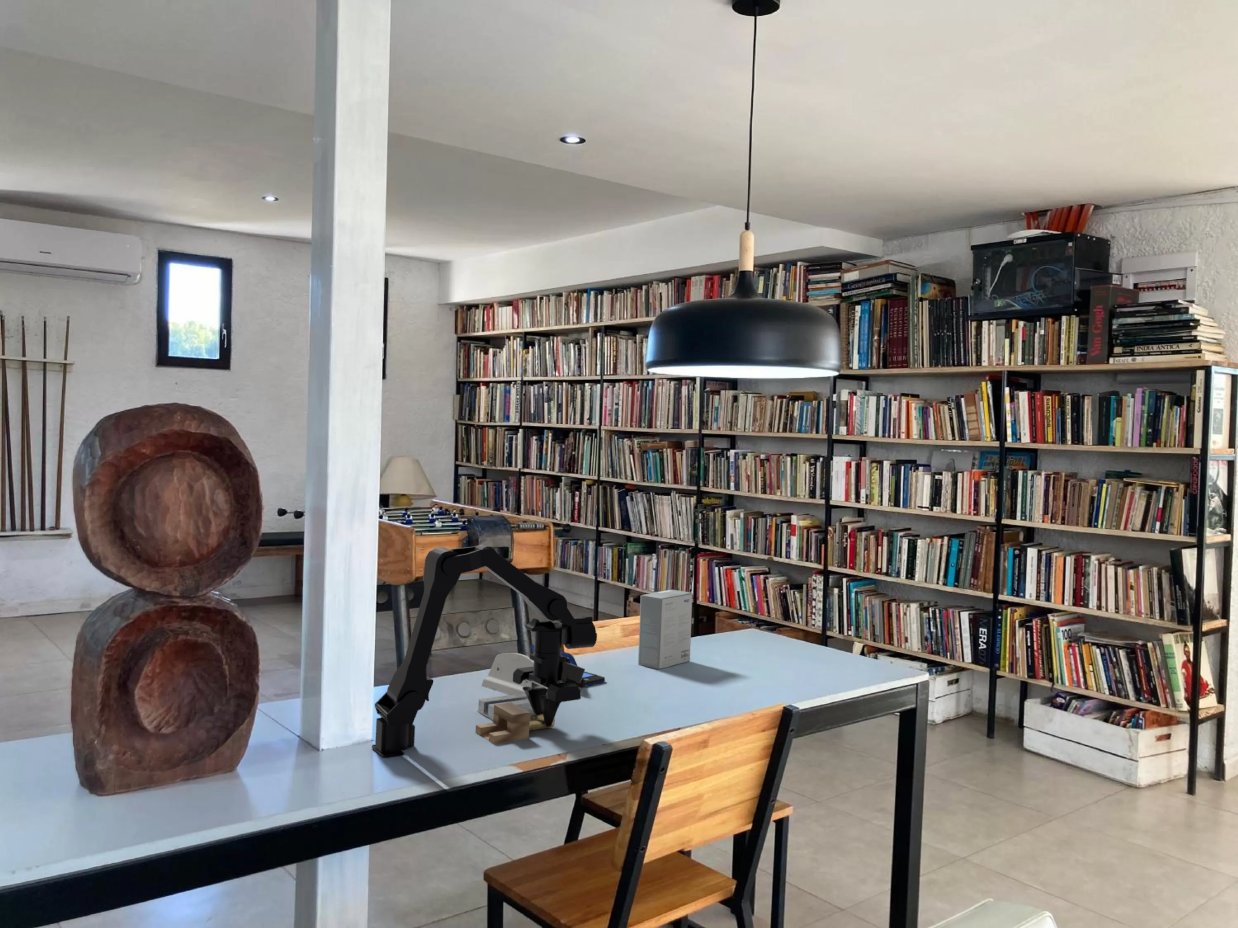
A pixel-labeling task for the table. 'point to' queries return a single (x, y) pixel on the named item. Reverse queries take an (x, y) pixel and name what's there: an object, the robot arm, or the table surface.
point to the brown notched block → (515, 724)
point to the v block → (488, 703)
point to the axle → (537, 722)
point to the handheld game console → (587, 677)
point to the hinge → (507, 673)
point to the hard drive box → (665, 628)
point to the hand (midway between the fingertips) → (544, 724)
